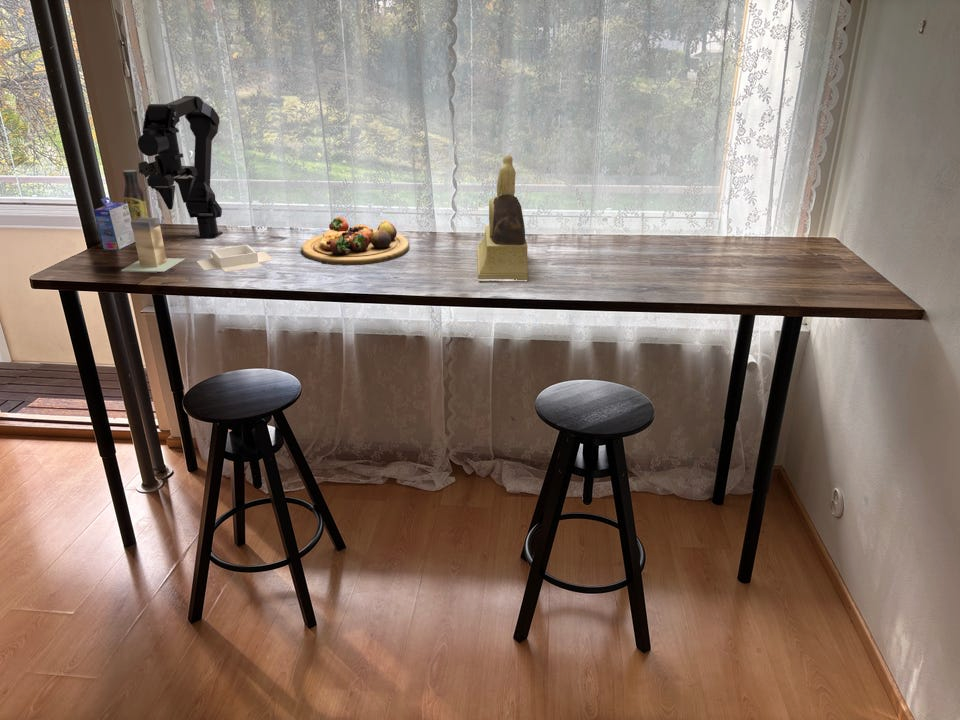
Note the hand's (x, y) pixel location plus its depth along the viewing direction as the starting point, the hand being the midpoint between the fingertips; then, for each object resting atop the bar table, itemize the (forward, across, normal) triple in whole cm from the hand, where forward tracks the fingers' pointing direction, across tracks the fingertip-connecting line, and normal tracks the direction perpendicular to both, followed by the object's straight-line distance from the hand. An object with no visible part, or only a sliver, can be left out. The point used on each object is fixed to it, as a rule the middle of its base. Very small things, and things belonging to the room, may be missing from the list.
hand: (178, 205), depth 206 cm
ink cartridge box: (+13, -2, -22) cm, 26 cm away
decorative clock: (+13, +8, +95) cm, 97 cm away
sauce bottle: (+13, -18, -24) cm, 33 cm away
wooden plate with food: (+14, -5, +51) cm, 53 cm away
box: (+13, +17, -1) cm, 21 cm away
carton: (+13, +11, +20) cm, 26 cm away
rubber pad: (+13, +17, -1) cm, 21 cm away
